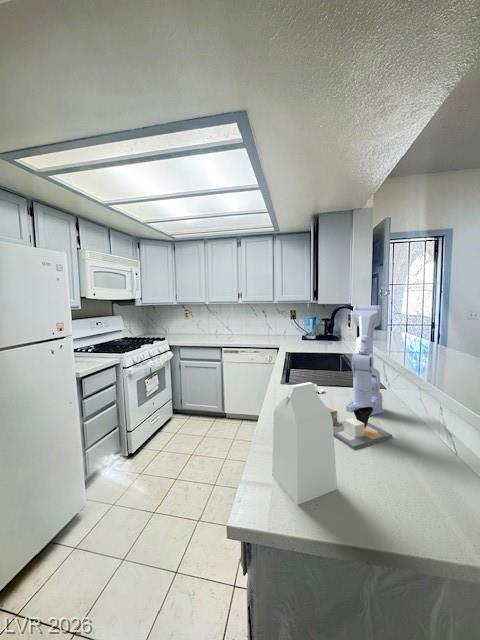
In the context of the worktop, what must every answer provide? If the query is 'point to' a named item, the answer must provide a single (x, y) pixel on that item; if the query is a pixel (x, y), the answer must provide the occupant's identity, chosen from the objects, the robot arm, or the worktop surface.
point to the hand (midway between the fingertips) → (362, 427)
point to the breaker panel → (369, 437)
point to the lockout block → (333, 414)
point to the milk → (303, 445)
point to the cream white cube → (354, 427)
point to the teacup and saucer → (318, 389)
